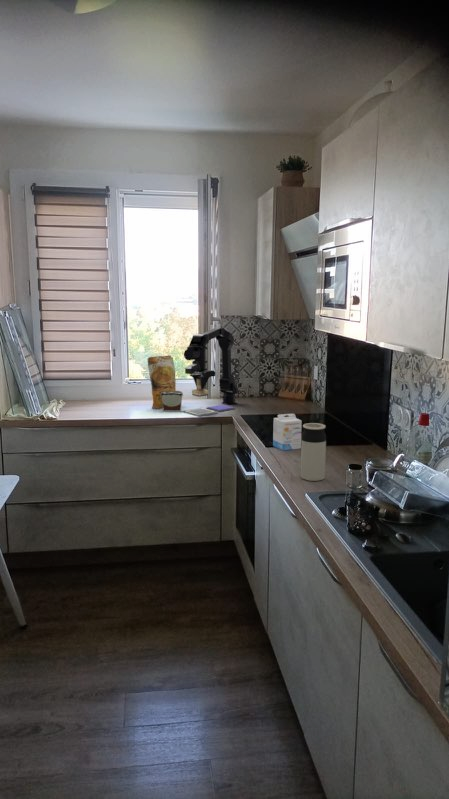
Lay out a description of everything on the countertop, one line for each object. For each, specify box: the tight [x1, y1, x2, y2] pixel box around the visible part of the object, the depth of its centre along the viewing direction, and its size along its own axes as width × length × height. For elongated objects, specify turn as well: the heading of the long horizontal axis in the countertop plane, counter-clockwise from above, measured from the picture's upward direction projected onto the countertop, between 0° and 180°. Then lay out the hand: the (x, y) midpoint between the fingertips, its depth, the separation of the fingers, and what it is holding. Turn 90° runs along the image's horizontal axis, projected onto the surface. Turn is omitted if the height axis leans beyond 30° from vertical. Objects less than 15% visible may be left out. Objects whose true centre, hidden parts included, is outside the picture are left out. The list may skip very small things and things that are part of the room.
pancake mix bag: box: [147, 354, 177, 409], centre depth 302 cm, size 7×19×28 cm, turn 133°
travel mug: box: [300, 422, 327, 482], centre depth 182 cm, size 8×8×18 cm
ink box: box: [272, 413, 303, 451], centre depth 220 cm, size 9×8×13 cm
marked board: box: [181, 407, 219, 417], centre depth 288 cm, size 12×15×1 cm
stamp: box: [191, 379, 209, 398], centre depth 285 cm, size 6×6×9 cm
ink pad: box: [205, 404, 236, 413], centre depth 296 cm, size 11×11×1 cm
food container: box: [160, 390, 184, 412], centre depth 295 cm, size 12×6×10 cm, turn 84°
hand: (200, 388), depth 285 cm, fingers closed on stamp, 4 cm apart
